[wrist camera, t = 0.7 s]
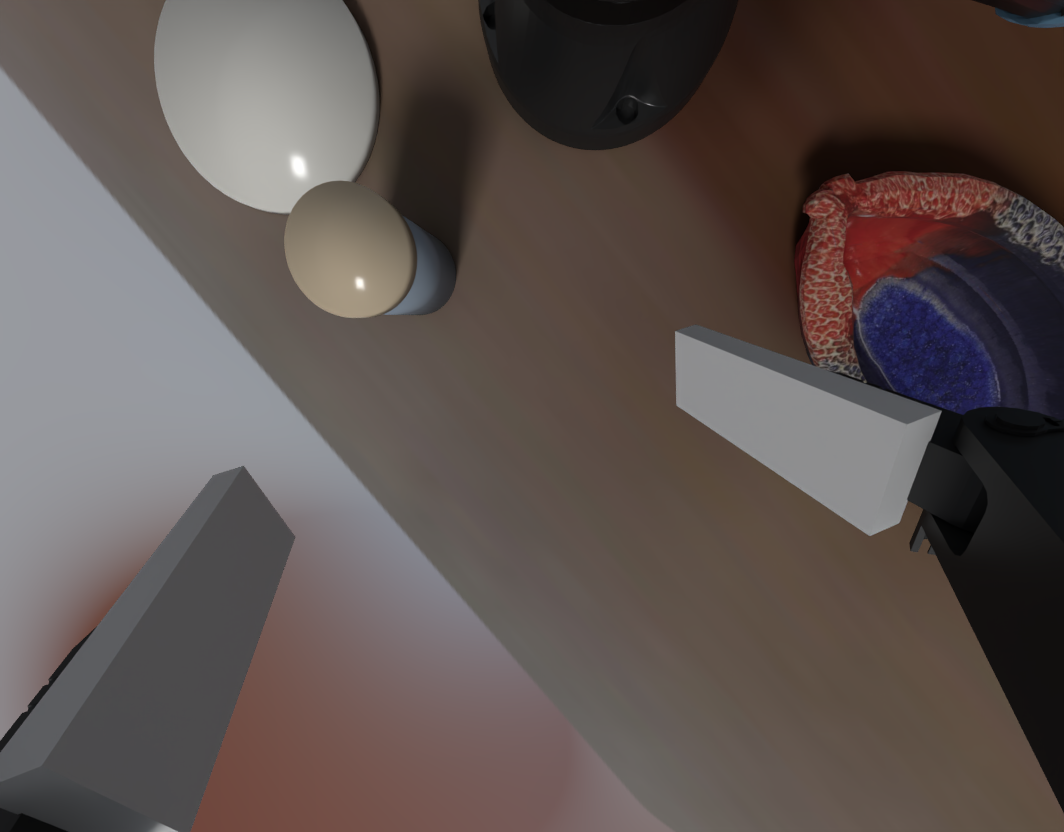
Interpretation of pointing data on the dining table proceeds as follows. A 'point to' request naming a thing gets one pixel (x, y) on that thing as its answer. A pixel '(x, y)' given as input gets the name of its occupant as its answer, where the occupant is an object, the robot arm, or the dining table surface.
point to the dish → (935, 290)
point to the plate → (267, 94)
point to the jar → (364, 255)
